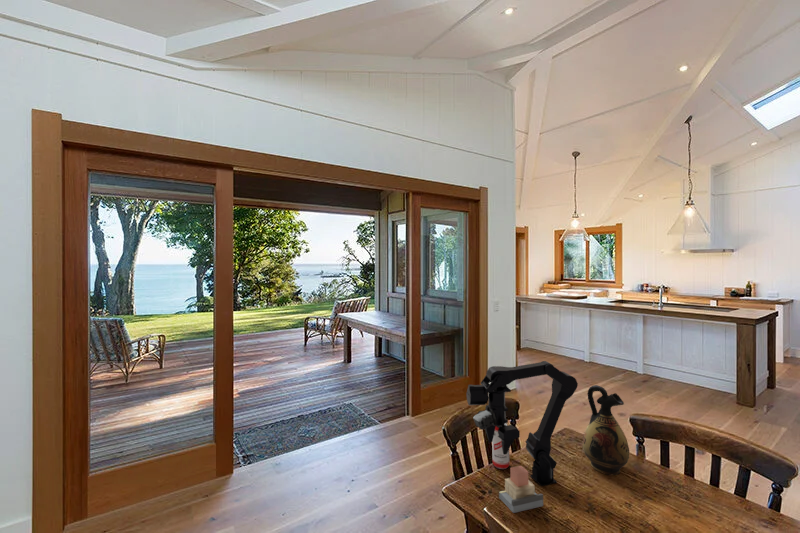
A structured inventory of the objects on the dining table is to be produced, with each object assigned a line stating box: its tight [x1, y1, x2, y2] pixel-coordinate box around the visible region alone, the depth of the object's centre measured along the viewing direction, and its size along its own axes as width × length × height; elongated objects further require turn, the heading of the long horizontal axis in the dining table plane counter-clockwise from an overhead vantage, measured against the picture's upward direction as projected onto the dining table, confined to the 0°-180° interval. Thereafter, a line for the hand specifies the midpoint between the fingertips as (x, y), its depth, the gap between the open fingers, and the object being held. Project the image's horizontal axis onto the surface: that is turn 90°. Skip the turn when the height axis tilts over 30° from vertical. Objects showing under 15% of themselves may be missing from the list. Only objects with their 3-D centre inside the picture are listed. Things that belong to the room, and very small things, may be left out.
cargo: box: [509, 465, 529, 487], centre depth 119 cm, size 4×4×4 cm
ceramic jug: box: [582, 384, 631, 476], centre depth 138 cm, size 17×15×30 cm
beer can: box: [491, 423, 510, 470], centre depth 140 cm, size 6×6×16 cm
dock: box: [498, 489, 544, 514], centre depth 118 cm, size 11×8×4 cm
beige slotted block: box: [504, 477, 536, 500], centre depth 119 cm, size 7×6×4 cm
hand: (497, 448), depth 130 cm, fingers open, 9 cm apart
